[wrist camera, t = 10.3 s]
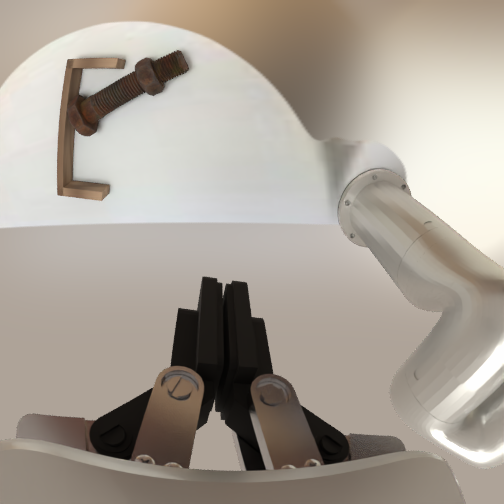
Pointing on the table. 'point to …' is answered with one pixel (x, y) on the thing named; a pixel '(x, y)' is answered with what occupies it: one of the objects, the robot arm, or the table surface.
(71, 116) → the bolt
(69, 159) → the bracket
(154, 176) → the table surface
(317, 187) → the table surface
